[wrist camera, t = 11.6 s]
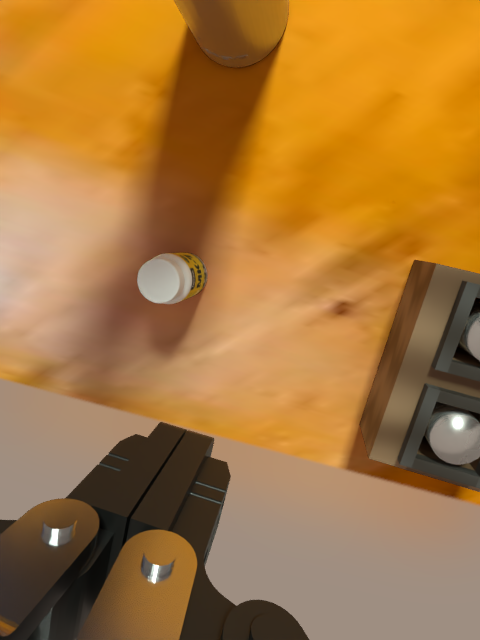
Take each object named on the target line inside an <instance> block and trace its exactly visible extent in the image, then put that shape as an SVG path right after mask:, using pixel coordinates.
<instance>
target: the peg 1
mask: <svg viewBox="0 0 480 640" xmlns="http://www.w3.org/2000/svg"><path fill="white" fill-rule="evenodd" d="M424 436H425V437H426V439H427V441H428V443H429V444H430V446H431V448H432V449H433V451H434V453H435V454H436V455H437V456H438V457H439V458H440V459H442V460H443V461H445V462H448V463H451V464H459V465H461V464H467V463H470V462H473V461H475V460H476V459H478V458H479V457H480V423H479V422H478V420H477V419H476V418H475V417H474V416H473V415H472V414H471V413H470V412H469V411H468V410H465V409H461V408H458V407H454V406H451V405H447V404H444V403H440V402H436V404H435V407H434V409H433V412H432V415H431V417H430V420H429V423H428V425H427V428H426V431H425V433H424Z"/></svg>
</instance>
